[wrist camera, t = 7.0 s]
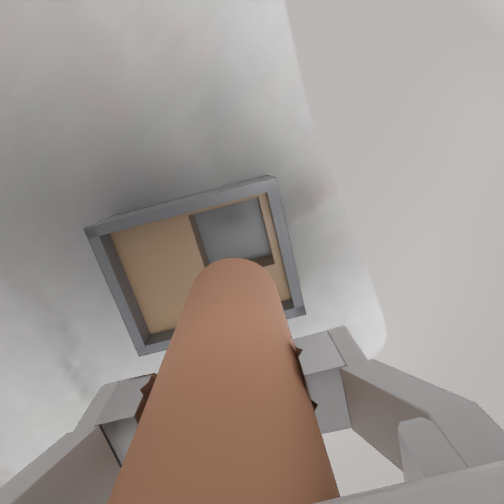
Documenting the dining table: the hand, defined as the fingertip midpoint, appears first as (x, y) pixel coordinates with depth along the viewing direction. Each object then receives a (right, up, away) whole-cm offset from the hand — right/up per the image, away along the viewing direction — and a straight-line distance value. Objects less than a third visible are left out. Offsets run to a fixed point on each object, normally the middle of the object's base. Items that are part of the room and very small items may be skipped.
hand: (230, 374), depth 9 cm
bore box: (-3, +3, +19) cm, 19 cm away
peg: (0, +1, +5) cm, 5 cm away
